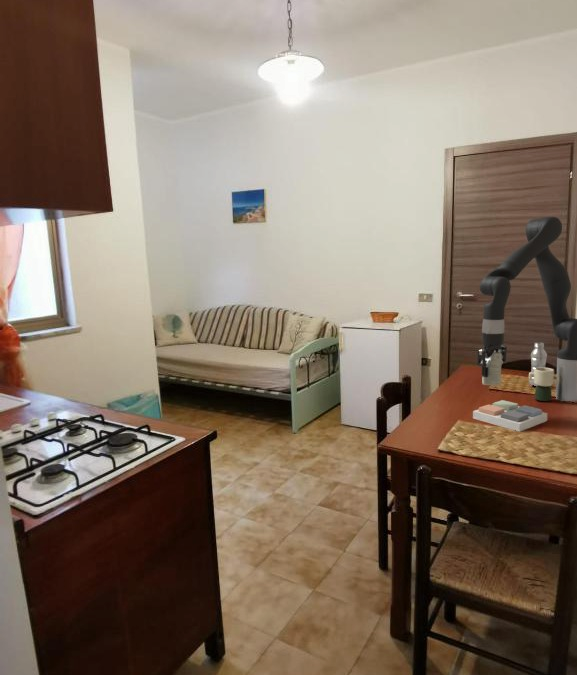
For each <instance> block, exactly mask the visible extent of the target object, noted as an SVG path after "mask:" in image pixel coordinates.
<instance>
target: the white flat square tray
mask: <svg viewBox="0 0 577 675" xmlns="http://www.w3.org/2000/svg"><path fill="white" fill-rule="evenodd" d="M518 407H520V406H519V405H518ZM513 411H515V409H514V410H513ZM504 412H507V411H505V410H504ZM472 419H474V420H477V421H481V422H484V423H488V424H491V425H495V426H498V427H502V428H505V429H508V430H511V431H515V430H516V431H515V432H518V431H519V432H523V431H526V430H528V429H530V428H532V427H536V426H537V425H540V424H543V423H545V422H547V421H548V412H543V411H542V414H540V415H537V416H534V417H529V416H528V419H526V420H524V421H521V422H515V421H511V420H508V419H504V418H501V414H499V415H496V416H493V415H489V414H485V413H482V412H479V408H478V409H475V410H473V411H472ZM519 432H518V433H519Z"/></svg>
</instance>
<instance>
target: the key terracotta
mask: <svg viewBox="0 0 577 675" xmlns="http://www.w3.org/2000/svg"><path fill="white" fill-rule="evenodd" d="M478 409H479V412H482V413H485V414H489V415H493V416H496V415H499V414H501V413H504V410H505V408H501V407H497V406H493V404H485V405H483V406H479V407H478Z"/></svg>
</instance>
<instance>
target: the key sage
mask: <svg viewBox="0 0 577 675" xmlns="http://www.w3.org/2000/svg"><path fill="white" fill-rule="evenodd" d="M492 405H493V406H497V407H501V408H505V411H510V410H514V409H515V408H518V406H519V403H516V402H512V401H507V400H503V399H501V400H498V401H495V402H493V403H492Z"/></svg>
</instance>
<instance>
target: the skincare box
mask: <svg viewBox="0 0 577 675" xmlns="http://www.w3.org/2000/svg"><path fill="white" fill-rule="evenodd" d="M501 355H502V353H501V352H499V353H497V352H496V353H495V355H494V357H493V359H492V361H491V362H490V363H489V366H488V367H489V368H488V377H483V376H482V375H481V377H482V378H481V380H482V381H481V382H482V385H484V386H502V384H501V383H502V382H501V381H502V367H501ZM502 356H503V355H502ZM485 358H487V359H489V357H488V356H487V353H486V357H485ZM486 362H487V361H485V364H486Z"/></svg>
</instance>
